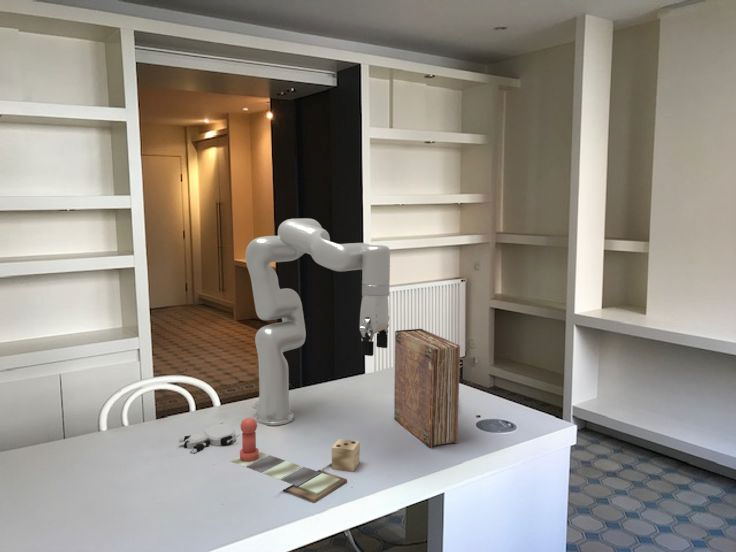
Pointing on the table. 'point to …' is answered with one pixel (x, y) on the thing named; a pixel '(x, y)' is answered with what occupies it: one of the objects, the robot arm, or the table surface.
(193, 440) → the robot toy
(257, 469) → the board
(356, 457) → the die
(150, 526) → the table surface
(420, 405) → the book
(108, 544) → the table surface
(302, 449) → the table surface
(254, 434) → the pawn
